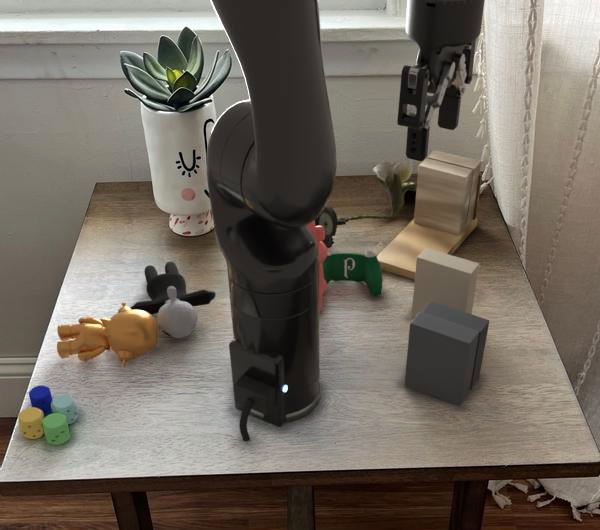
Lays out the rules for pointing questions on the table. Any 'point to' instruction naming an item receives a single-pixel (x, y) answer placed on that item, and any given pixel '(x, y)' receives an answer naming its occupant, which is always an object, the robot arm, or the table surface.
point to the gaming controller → (354, 269)
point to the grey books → (445, 352)
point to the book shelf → (416, 245)
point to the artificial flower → (396, 188)
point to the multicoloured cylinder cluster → (52, 424)
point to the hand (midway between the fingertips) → (432, 142)
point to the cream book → (444, 281)
